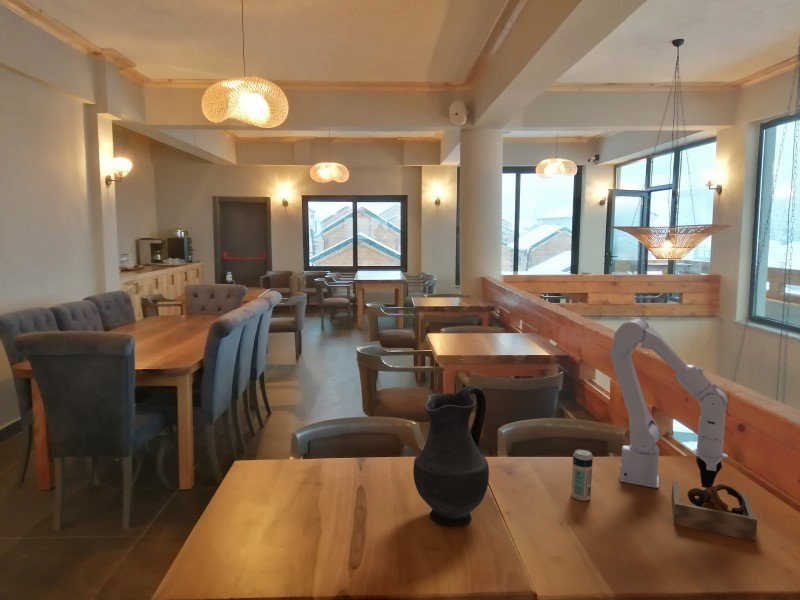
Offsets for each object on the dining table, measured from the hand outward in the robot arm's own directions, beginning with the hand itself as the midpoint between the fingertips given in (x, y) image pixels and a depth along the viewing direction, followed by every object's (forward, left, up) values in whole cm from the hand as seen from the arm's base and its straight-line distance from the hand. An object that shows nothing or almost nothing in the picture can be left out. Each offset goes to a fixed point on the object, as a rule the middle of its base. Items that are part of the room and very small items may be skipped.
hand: (706, 486), depth 139 cm
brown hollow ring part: (+1, -10, -3) cm, 10 cm away
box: (0, -12, -2) cm, 12 cm away
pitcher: (-55, -38, -3) cm, 67 cm away
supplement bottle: (-29, -15, -3) cm, 33 cm away
